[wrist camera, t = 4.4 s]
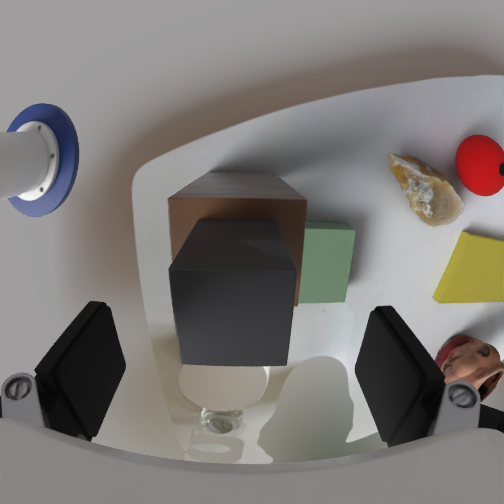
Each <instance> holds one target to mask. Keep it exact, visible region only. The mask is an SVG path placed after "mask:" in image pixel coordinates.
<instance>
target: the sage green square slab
mask: <svg viewBox="0 0 504 504" xmlns="http://www.w3.org/2000/svg"><path fill="white" fill-rule="evenodd" d="M355 234H356V230H355V229H354V228H353V227H351V226H350V225H349V224H348V223H342V222H315V221H306V224H305V237H304V249H303V260H302V271H301V281H300V290H299V299H298V303H334V302H345V297H346V292H347V286H348V280H349V275H350V268H351V262H352V256H353V249H354V242H355Z"/></svg>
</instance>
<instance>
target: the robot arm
mask: <svg viewBox="0 0 504 504" xmlns="http://www.w3.org/2000/svg"><path fill="white" fill-rule="evenodd" d="M58 167H59V146H58V142H57V138H56V136H55V134H54V132H53V131H52V129H51V128H50V127H49V126H48V125H47V124H45V123H43V122H38V121H31V122H28V123H25V124H24V125H22V126H21V127H20V128H19V129H18V130H17V131H16V132H2V133H0V201H2V200H5V199H8V198H11V197H14V196H18V197H20V198H21V199H23V200H27V201H32V200H36V199H38V198H41V197H42V196H44V195H45V194H46V193H47V192H48V191H49V190H50V188H51V187H52V185H53V183H54V181H55V178H56V176H57V172H58ZM125 369H126V363H125V359H124V356H123V353H122V349H121V346H120V342H119V339H118V335H117V331H116V327H115V324H114V320H113V316H112V312H111V309H110V307H109V306H107V305H106V303H104V302H98V301H90V302H89V303H88V304H87V305H86V306H85V307H84V308H83V310H82V311H81V312H80V313H79V314H78V315H77V317H76V318H75V319H74V320H73V321H72V323H71V324H70V325H69V326H68V327H67V329H66V330H65V331H64V332H63V334H62V335H61V336H60V337H59V339H58V340H57V341H56V342H55V343H54V345H53V346H52V347H51V348H50V350H49V351H48V352H47V354H46V355H45V356H44V357H43V359H42V360H41V361H40V363H39V364H38V365H37V367H36V368H35V372H36V374H37V375H36V376H35V378H34V377H33V376H32V375H30V374H28V373H16V374H14V375H12V376H10V377H9V378H8V379H6V381H5V382H4V383H3V385H2V388H1V396H0V504H504V412H503V411H500V410H497V409H494V408H491V407H488V406H485V405H482V404H480V403H481V399H480V394H479V392H478V390H477V389H476V388H475V387H474V386H473V385H471V384H470V383H468V382H466V381H461V380H454V381H451V382H449V383H448V384H447V385H446V383H445V382H444V380H445V378H446V376H445V375H444V374H443V372H442V371H441V369H440V368H439V367H438V365H437V364H436V362H435V361H434V360H433V358H432V357H431V356H430V354H429V353H428V352H427V350H426V349H425V348H424V346H423V345H422V344H421V342H420V341H419V340H418V338H417V337H416V336H415V334H414V333H413V332H412V331H411V329H410V328H409V327H408V325H407V324H406V323H405V322H404V320H403V319H402V318H401V317H400V315H399V314H398V313H397V312H396V310H395V309H394V308H393V307H392V306H377V307H376V308H375V309H374V310H373V311H371V312H370V315H369V319H368V323H367V327H366V331H365V334H364V338H363V341H362V345H361V348H360V352H359V355H358V358H357V362H356V365H355V374H356V377H357V379H358V382H359V384H360V387H361V389H362V391H363V394H364V396H365V399H366V401H367V404H368V406H369V409H370V411H371V414H372V416H373V419H374V421H375V424H376V426H377V429H378V431H379V434H380V436H381V439H382V441H383V442H387V445H388V448H384V449H380V450H375V451H371V452H366V453H361V454H356V455H350V456H344V457H338V458H331V459H325V460H316V461H308V462H296V463H282V464H218V463H203V462H192V461H183V460H174V459H167V458H160V457H153V456H148V455H143V454H138V453H132V452H128V451H123V450H119V449H115V448H111V447H107V446H103V445H99V444H96V443H92V442H91V440H92V437H96V436H97V434H98V432H99V429H100V427H101V424H102V422H103V420H104V417H105V415H106V413H107V410H108V408H109V406H110V403H111V401H112V399H113V396H114V394H115V392H116V390H117V387H118V385H119V383H120V381H121V379H122V376H123V374H124V372H125Z"/></svg>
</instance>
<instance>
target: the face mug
mask: <svg viewBox="0 0 504 504" xmlns="http://www.w3.org/2000/svg"><path fill="white" fill-rule="evenodd" d="M435 362H436V364H437V365H438V367H439V368H440V369H441V371H442V372H443V374H444V375H445V376H446V378H445V380H444V382H445V383H446V385H447V384H448V383H449V382H451V381H454V380H461V381H466V382H468V383H470V384H471V385H473V386H474V387H475V388H476V389H477V390H478V392H479V394H480V399H481V402H482V401H483V400H485V399H486V398H487V397H488V396H489V395H490V394H491V393H492V392H493V390H494V389H495V388H496V386H497V385H498V383H499V382H500V380H501V379H502V377H503V375H504V364H503V363H502V362H501V361H500V355H499V352H498V351H497V349H496V348H495V347H493V346H492V345H489V344H487V343H484V342H482V341H479V340H477V339H474V338H471V337H469V336H467V335H459V336H456V337H453V338H452V339H450V340H449V341H448V342H446V343H445V344H444V346H443V347H442V348H441V350H440V351H439V353H438V355H437V357H436V359H435Z"/></svg>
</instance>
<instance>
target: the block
mask: <svg viewBox="0 0 504 504" xmlns="http://www.w3.org/2000/svg"><path fill="white" fill-rule="evenodd" d="M168 270H169V280H170V289H171V298H172V306H173V314H174V321H175V328H176V335H177V342H178V348H179V354H180V360H181V364H189V365H210V366H286V365H287V359H288V352H289V344H290V335H291V327H292V318H293V309H294V300H295V290H296V280H297V269H296V266H295V264H294V262H293V259H292V257H291V255H290V252H289V250H288V248H287V245H286V243H285V241H284V238H283V236H282V234H281V231H280V229H279V227H278V224H277V222H276V221H275V220H198V221H197V222H196V224H195V225H194V227H193V229H192V230H191V232H190V233H189V235H188V237H187V238H186V240H185V242H184V243H183V245H182V247H181V248H180V250H179V252H178V253H177V255H176V257H175V258H174V260H173V262H172V264H171V265H170V267H169V269H168Z"/></svg>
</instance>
